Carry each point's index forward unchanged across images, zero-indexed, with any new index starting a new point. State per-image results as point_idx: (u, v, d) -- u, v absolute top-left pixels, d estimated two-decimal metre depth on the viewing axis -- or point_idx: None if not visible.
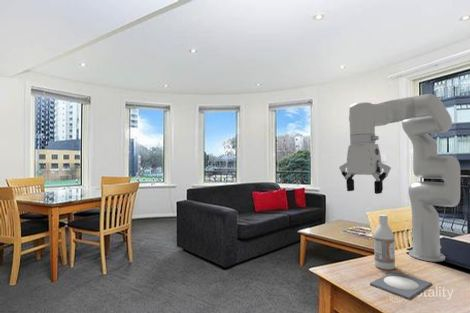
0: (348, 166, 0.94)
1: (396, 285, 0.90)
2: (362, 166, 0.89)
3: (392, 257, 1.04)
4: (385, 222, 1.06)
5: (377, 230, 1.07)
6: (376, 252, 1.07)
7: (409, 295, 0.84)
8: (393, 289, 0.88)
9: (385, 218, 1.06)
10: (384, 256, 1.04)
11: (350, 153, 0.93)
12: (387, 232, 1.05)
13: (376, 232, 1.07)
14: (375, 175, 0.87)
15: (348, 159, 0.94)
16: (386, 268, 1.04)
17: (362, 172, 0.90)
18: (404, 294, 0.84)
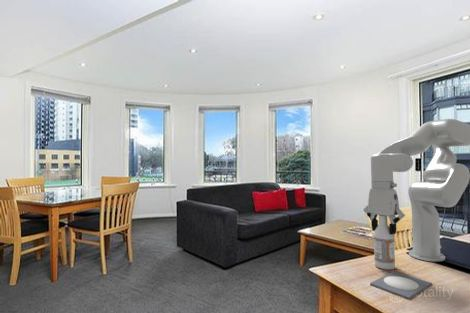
0: (369, 207, 1.10)
1: (396, 285, 0.90)
2: (382, 208, 1.05)
3: (392, 257, 1.04)
4: (385, 222, 1.06)
5: (377, 230, 1.07)
6: (376, 252, 1.07)
7: (409, 295, 0.84)
8: (393, 289, 0.88)
9: (385, 218, 1.06)
10: (384, 256, 1.04)
11: (371, 196, 1.09)
12: (387, 232, 1.05)
13: (376, 232, 1.07)
14: (391, 218, 1.04)
15: (369, 201, 1.10)
16: (386, 268, 1.04)
17: (382, 213, 1.05)
18: (404, 294, 0.84)
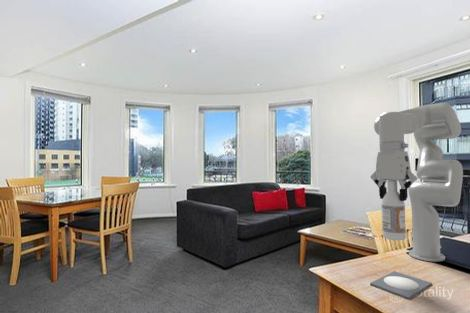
0: (377, 172, 0.99)
1: (396, 285, 0.90)
2: (392, 172, 0.94)
3: (402, 226, 0.93)
4: (394, 188, 0.95)
5: (385, 197, 0.96)
6: (384, 221, 0.95)
7: (409, 295, 0.84)
8: (393, 289, 0.88)
9: (394, 183, 0.95)
10: (393, 225, 0.93)
11: (379, 159, 0.98)
12: (397, 198, 0.93)
13: (384, 199, 0.96)
14: (401, 183, 0.92)
15: (377, 165, 0.99)
16: (395, 239, 0.93)
17: (392, 178, 0.94)
18: (404, 294, 0.84)
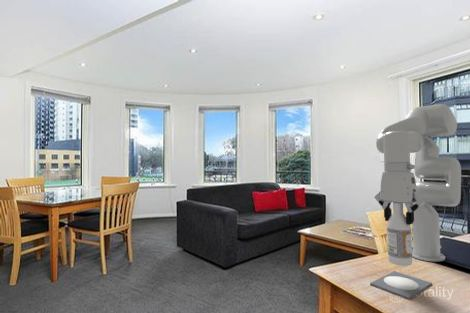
0: (382, 193, 0.94)
1: (396, 285, 0.90)
2: (398, 194, 0.90)
3: (409, 251, 0.89)
4: (400, 210, 0.91)
5: (391, 220, 0.92)
6: (390, 245, 0.91)
7: (409, 295, 0.84)
8: (393, 289, 0.88)
9: (400, 205, 0.91)
10: (400, 250, 0.89)
11: (384, 180, 0.94)
12: (403, 222, 0.89)
13: (390, 222, 0.92)
14: (408, 206, 0.88)
15: (382, 186, 0.94)
16: (402, 264, 0.89)
17: (397, 200, 0.90)
18: (404, 294, 0.84)
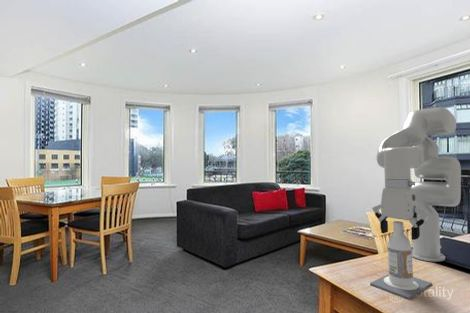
0: (383, 209, 0.94)
1: (396, 285, 0.90)
2: (398, 211, 0.90)
3: (410, 271, 0.89)
4: (401, 230, 0.91)
5: (391, 239, 0.92)
6: (391, 265, 0.92)
7: (409, 295, 0.84)
8: (393, 289, 0.88)
9: (400, 225, 0.91)
10: (401, 270, 0.89)
11: (385, 196, 0.93)
12: (404, 242, 0.90)
13: (390, 242, 0.92)
14: (412, 221, 0.87)
15: (383, 202, 0.94)
16: (403, 284, 0.89)
17: (398, 217, 0.90)
18: (404, 294, 0.84)
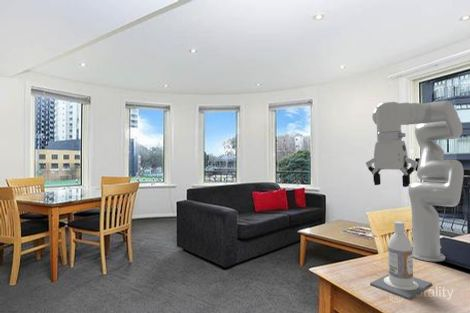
0: (375, 162, 1.00)
1: (396, 285, 0.90)
2: (390, 161, 0.96)
3: (410, 272, 0.89)
4: (402, 231, 0.91)
5: (392, 240, 0.92)
6: (391, 265, 0.92)
7: (409, 295, 0.84)
8: (393, 289, 0.88)
9: (401, 226, 0.91)
10: (401, 270, 0.89)
11: (377, 149, 0.99)
12: (404, 242, 0.89)
13: (391, 242, 0.92)
14: (403, 170, 0.94)
15: (375, 155, 1.00)
16: (403, 284, 0.89)
17: (390, 167, 0.96)
18: (404, 294, 0.84)
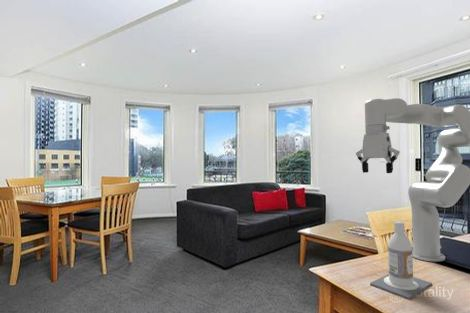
0: (364, 151, 1.13)
1: (396, 285, 0.90)
2: (376, 151, 1.09)
3: (410, 272, 0.89)
4: (402, 230, 0.91)
5: (392, 240, 0.92)
6: (391, 265, 0.92)
7: (409, 295, 0.84)
8: (393, 289, 0.88)
9: (401, 225, 0.91)
10: (401, 270, 0.89)
11: (365, 141, 1.13)
12: (404, 242, 0.89)
13: (391, 242, 0.92)
14: (387, 158, 1.07)
15: (364, 146, 1.13)
16: (403, 284, 0.89)
17: (376, 156, 1.09)
18: (404, 294, 0.84)
